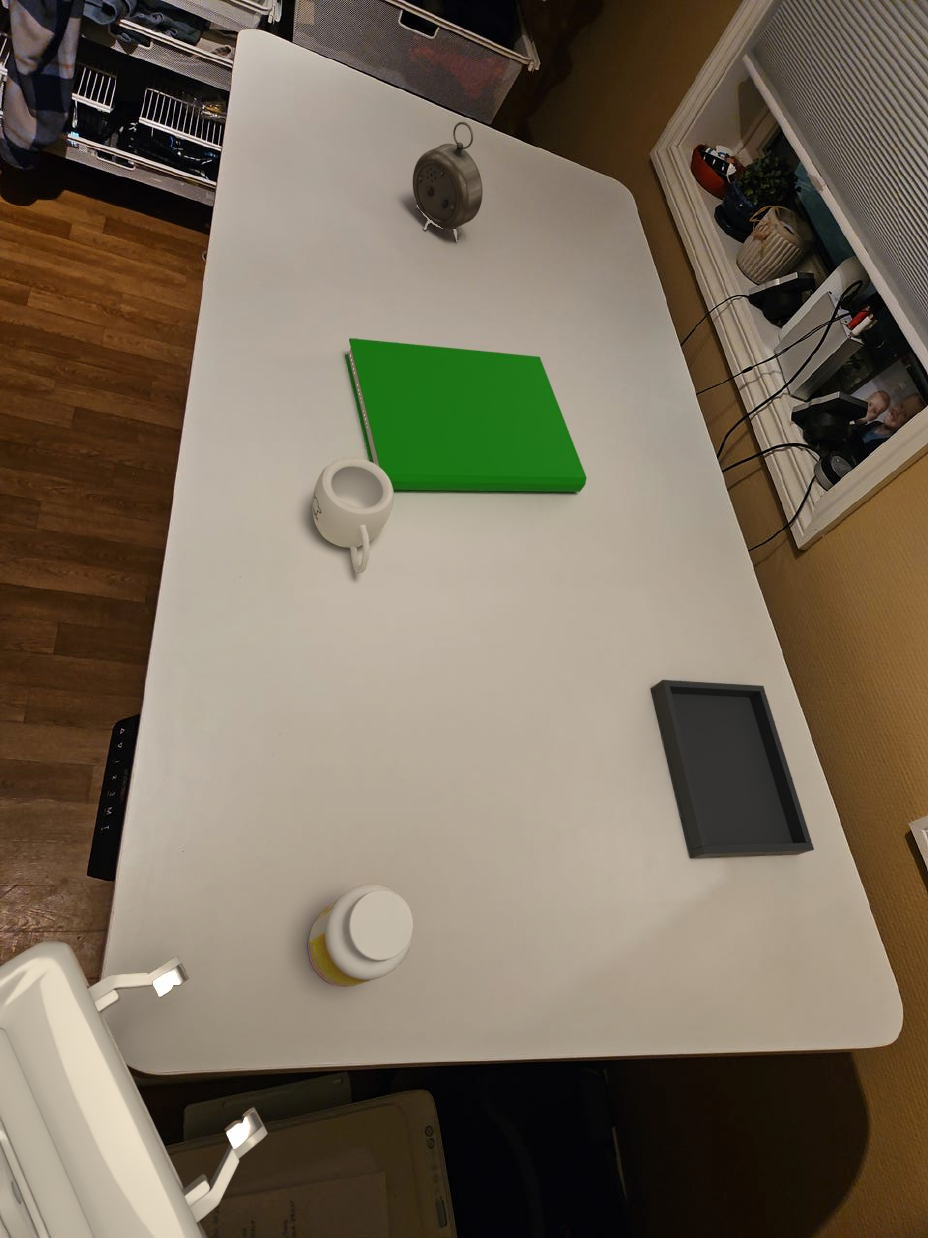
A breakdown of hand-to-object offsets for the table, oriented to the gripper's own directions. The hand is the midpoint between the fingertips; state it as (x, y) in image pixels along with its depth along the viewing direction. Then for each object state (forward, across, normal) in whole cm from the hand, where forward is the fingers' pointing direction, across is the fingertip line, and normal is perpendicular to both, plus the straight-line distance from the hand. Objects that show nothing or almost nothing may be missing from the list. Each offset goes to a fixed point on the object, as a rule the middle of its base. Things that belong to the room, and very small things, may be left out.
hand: (221, 1041), depth 42 cm
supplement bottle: (+12, 0, +16) cm, 21 cm away
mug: (+34, +36, +17) cm, 52 cm away
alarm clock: (+78, +82, +17) cm, 115 cm away
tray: (+58, -9, +16) cm, 61 cm away
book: (+58, +45, +17) cm, 75 cm away
